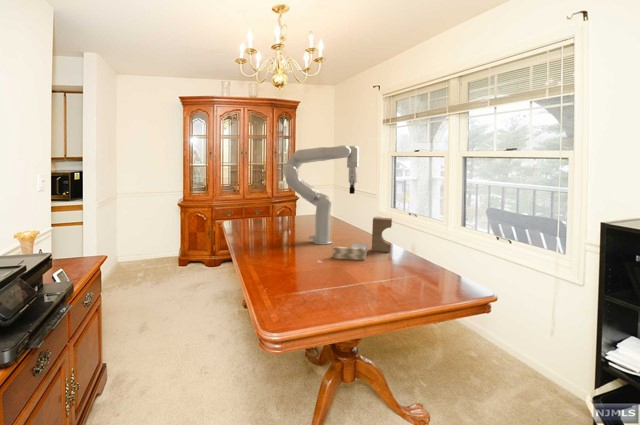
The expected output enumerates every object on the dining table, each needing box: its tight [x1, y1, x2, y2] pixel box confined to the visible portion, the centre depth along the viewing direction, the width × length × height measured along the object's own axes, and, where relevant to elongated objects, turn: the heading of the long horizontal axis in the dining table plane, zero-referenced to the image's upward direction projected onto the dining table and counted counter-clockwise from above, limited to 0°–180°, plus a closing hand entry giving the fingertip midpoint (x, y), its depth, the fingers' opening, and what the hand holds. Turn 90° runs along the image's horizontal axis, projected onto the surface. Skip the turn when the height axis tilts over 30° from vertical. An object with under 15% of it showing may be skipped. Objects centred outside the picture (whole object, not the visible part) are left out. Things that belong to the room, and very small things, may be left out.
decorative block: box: [371, 216, 393, 253], centre depth 218 cm, size 11×6×20 cm, turn 75°
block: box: [351, 243, 368, 260], centre depth 207 cm, size 8×8×6 cm
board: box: [332, 246, 366, 261], centre depth 202 cm, size 18×3×6 cm, turn 81°
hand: (352, 193), depth 238 cm, fingers closed
